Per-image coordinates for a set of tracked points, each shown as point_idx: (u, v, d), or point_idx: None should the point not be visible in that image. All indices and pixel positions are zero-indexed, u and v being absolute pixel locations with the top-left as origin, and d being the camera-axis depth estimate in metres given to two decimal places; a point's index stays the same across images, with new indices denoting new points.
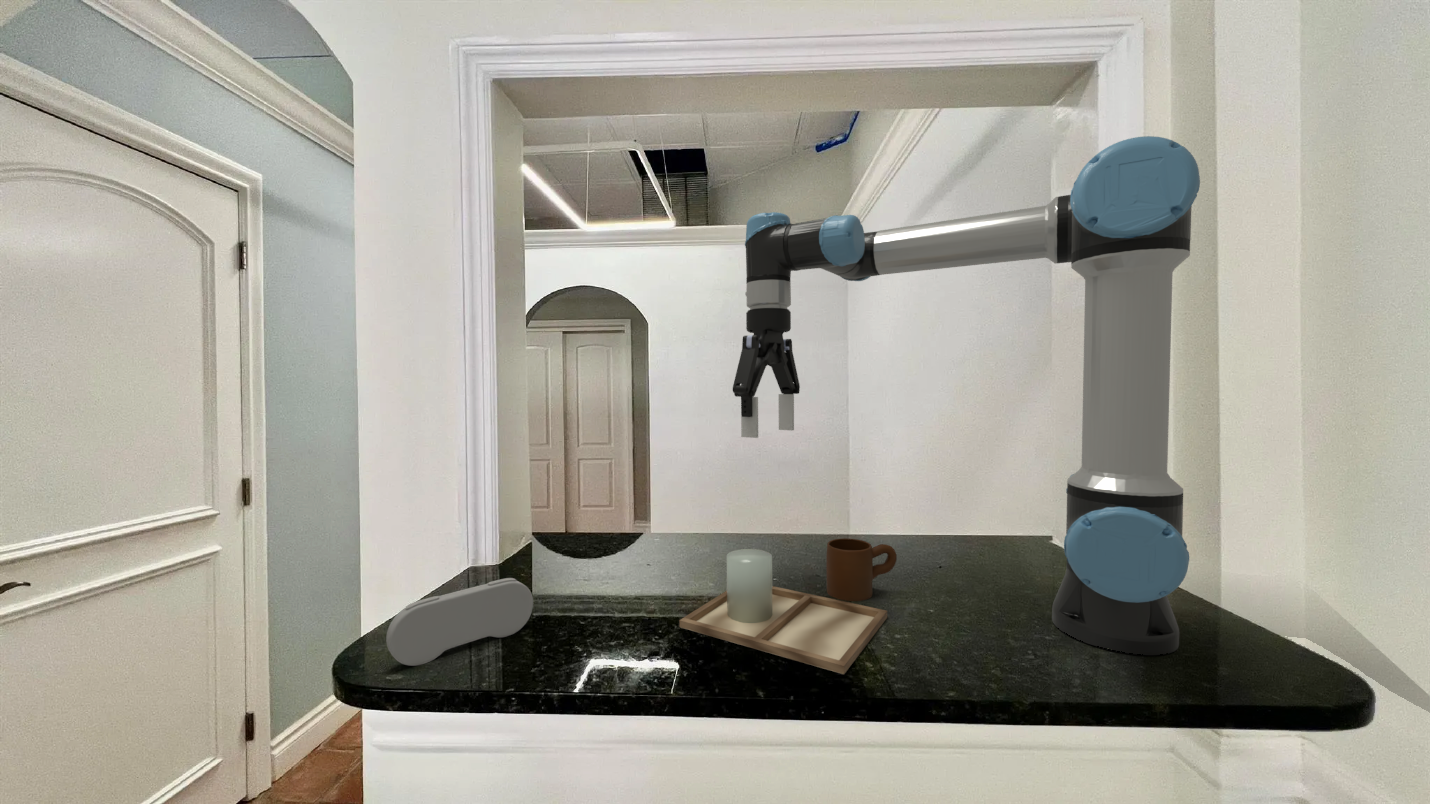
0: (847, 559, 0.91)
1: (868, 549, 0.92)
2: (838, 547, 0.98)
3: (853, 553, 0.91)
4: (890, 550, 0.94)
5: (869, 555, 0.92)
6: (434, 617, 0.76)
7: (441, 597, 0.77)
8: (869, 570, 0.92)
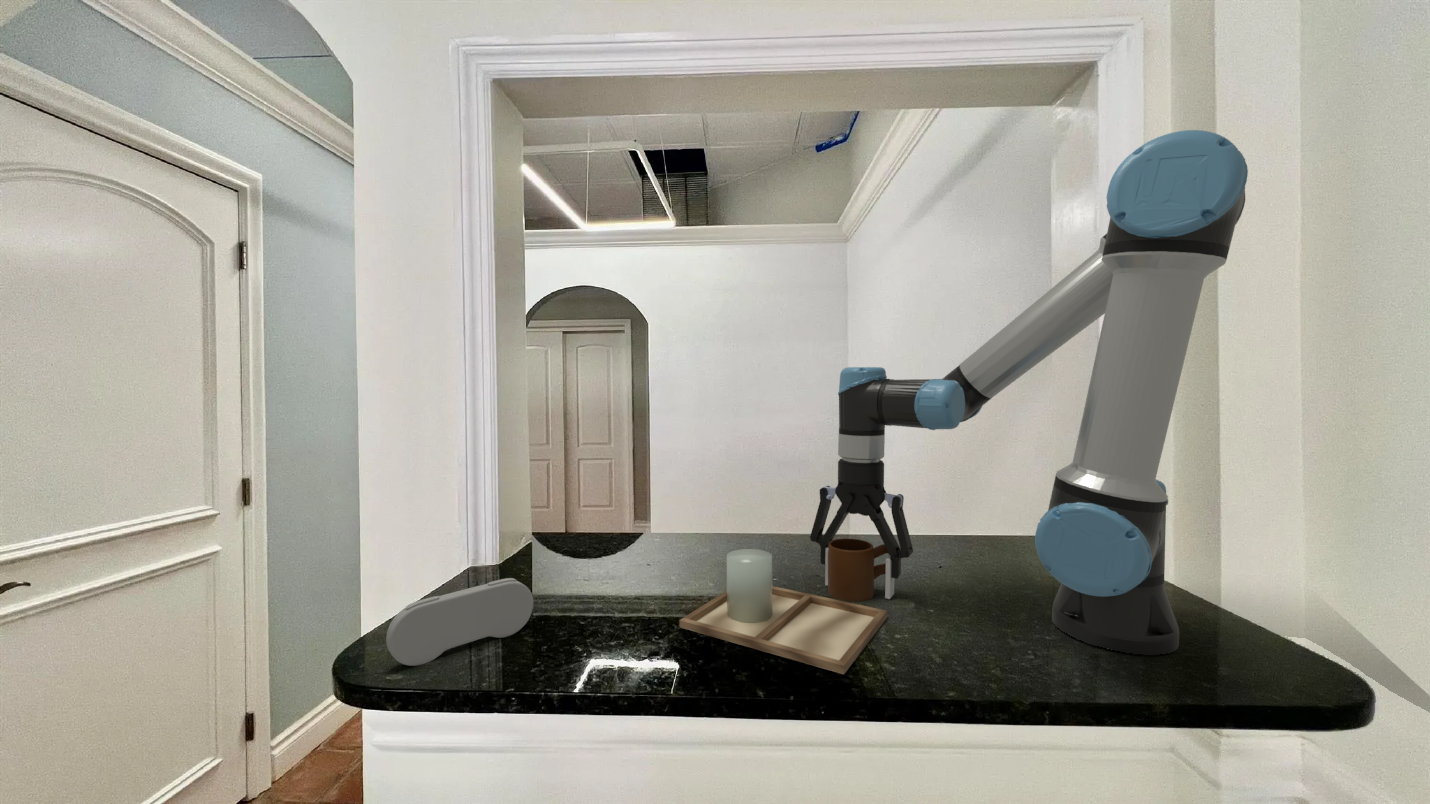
0: (848, 559, 0.91)
1: (869, 549, 0.92)
2: (839, 547, 0.98)
3: (854, 553, 0.91)
4: None
5: (870, 555, 0.92)
6: (434, 617, 0.76)
7: (441, 597, 0.77)
8: (870, 570, 0.92)
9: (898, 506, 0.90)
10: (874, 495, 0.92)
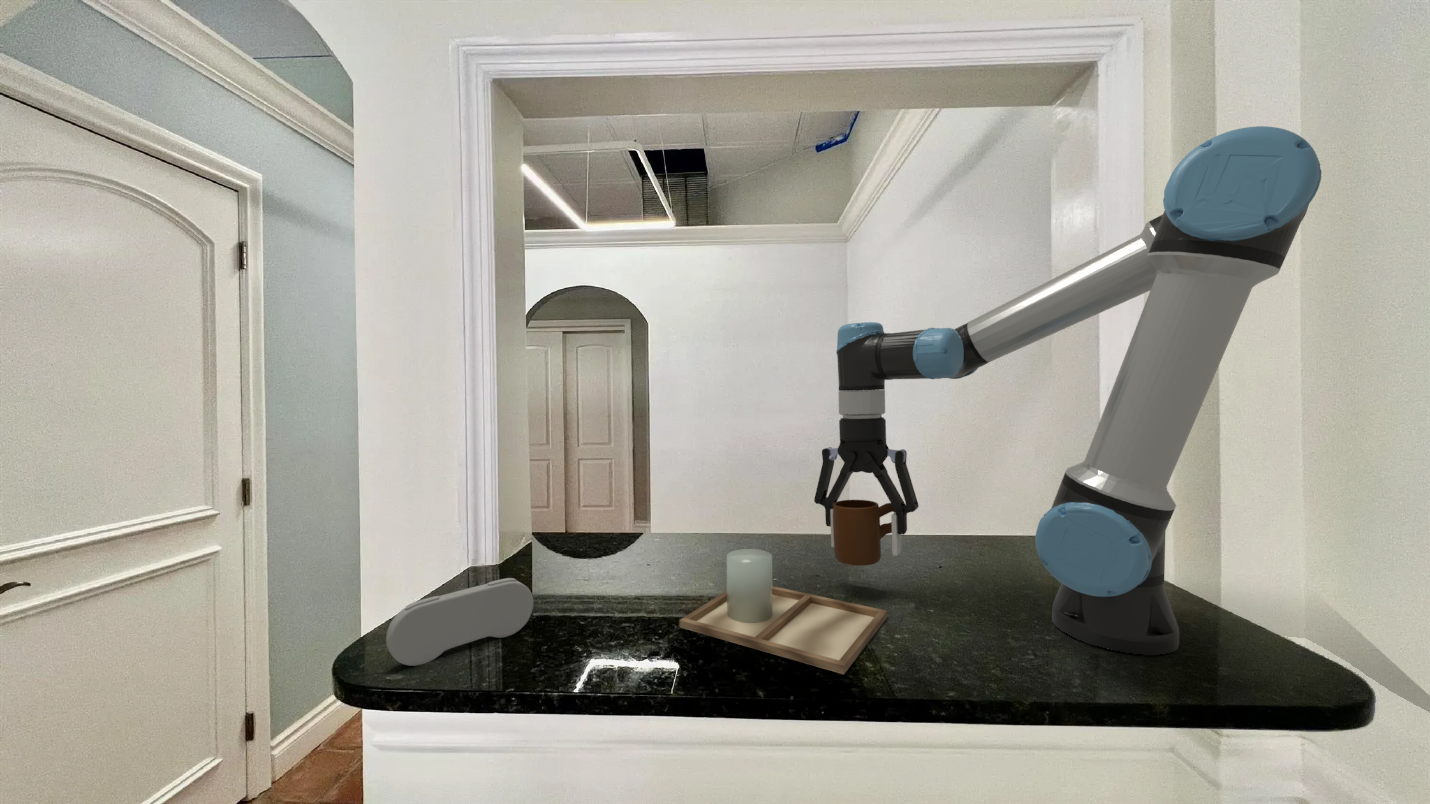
0: (854, 517, 0.90)
1: (875, 506, 0.91)
2: None
3: (860, 510, 0.90)
4: None
5: (876, 512, 0.91)
6: (434, 617, 0.76)
7: (441, 597, 0.77)
8: (877, 528, 0.91)
9: (901, 460, 0.89)
10: (877, 451, 0.91)
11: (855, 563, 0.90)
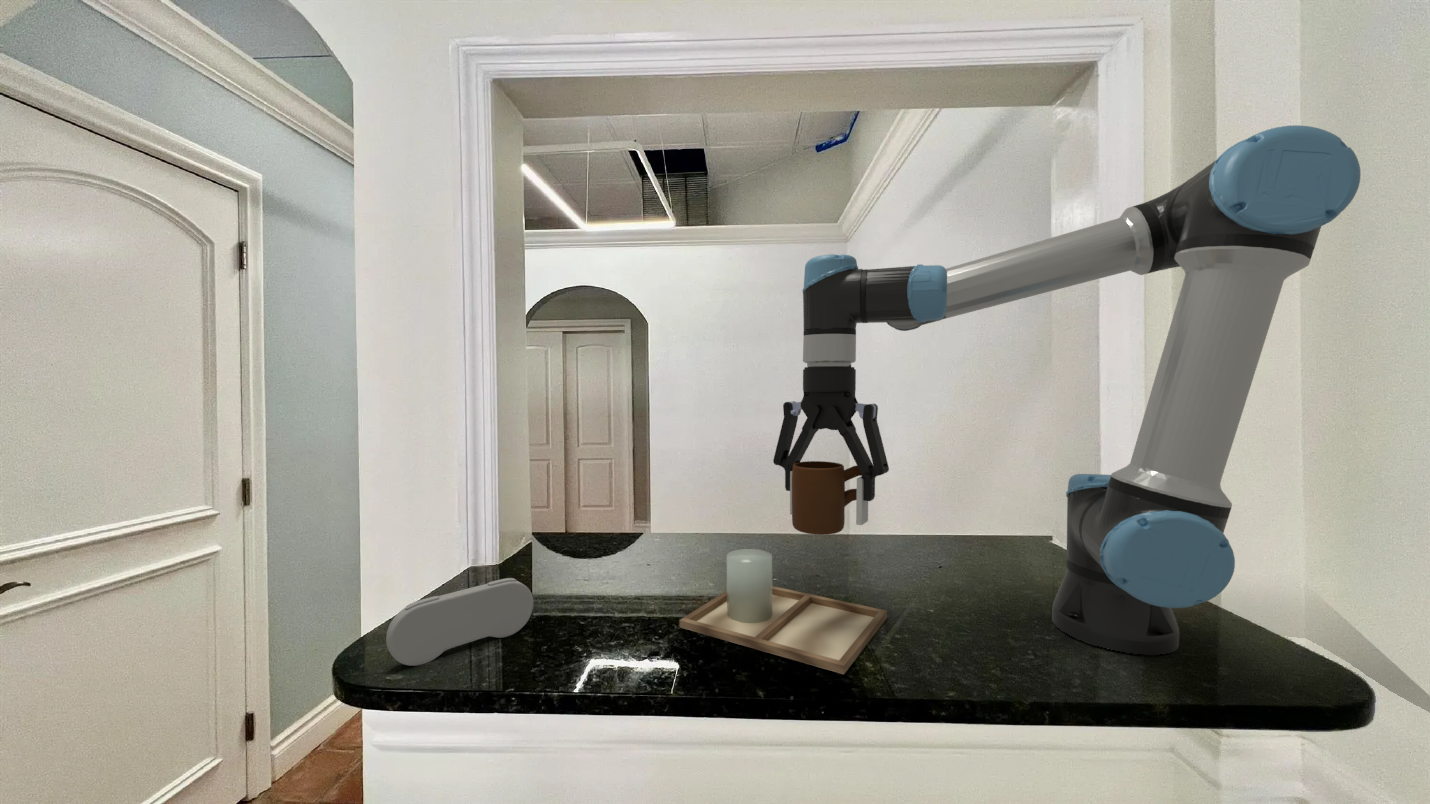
0: (813, 478, 0.78)
1: (838, 468, 0.79)
2: None
3: (820, 471, 0.78)
4: None
5: (840, 475, 0.79)
6: (434, 617, 0.76)
7: (441, 597, 0.77)
8: (840, 492, 0.79)
9: (870, 415, 0.77)
10: (843, 405, 0.79)
11: (813, 531, 0.78)
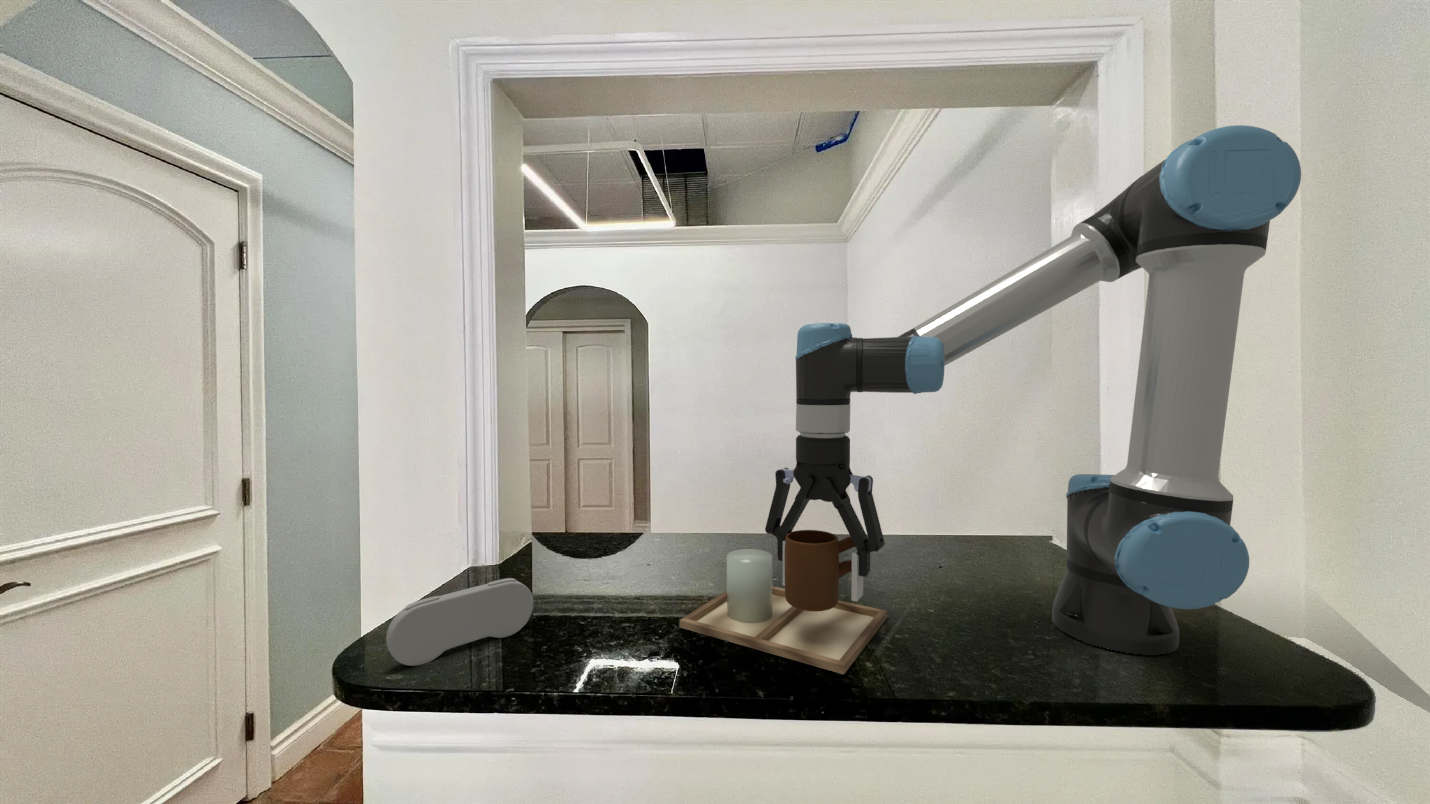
0: (807, 554, 0.76)
1: (833, 542, 0.77)
2: (800, 540, 0.82)
3: (814, 547, 0.75)
4: None
5: (834, 549, 0.77)
6: (434, 617, 0.76)
7: (441, 597, 0.77)
8: (834, 567, 0.77)
9: (866, 489, 0.75)
10: (838, 477, 0.77)
11: (807, 608, 0.76)
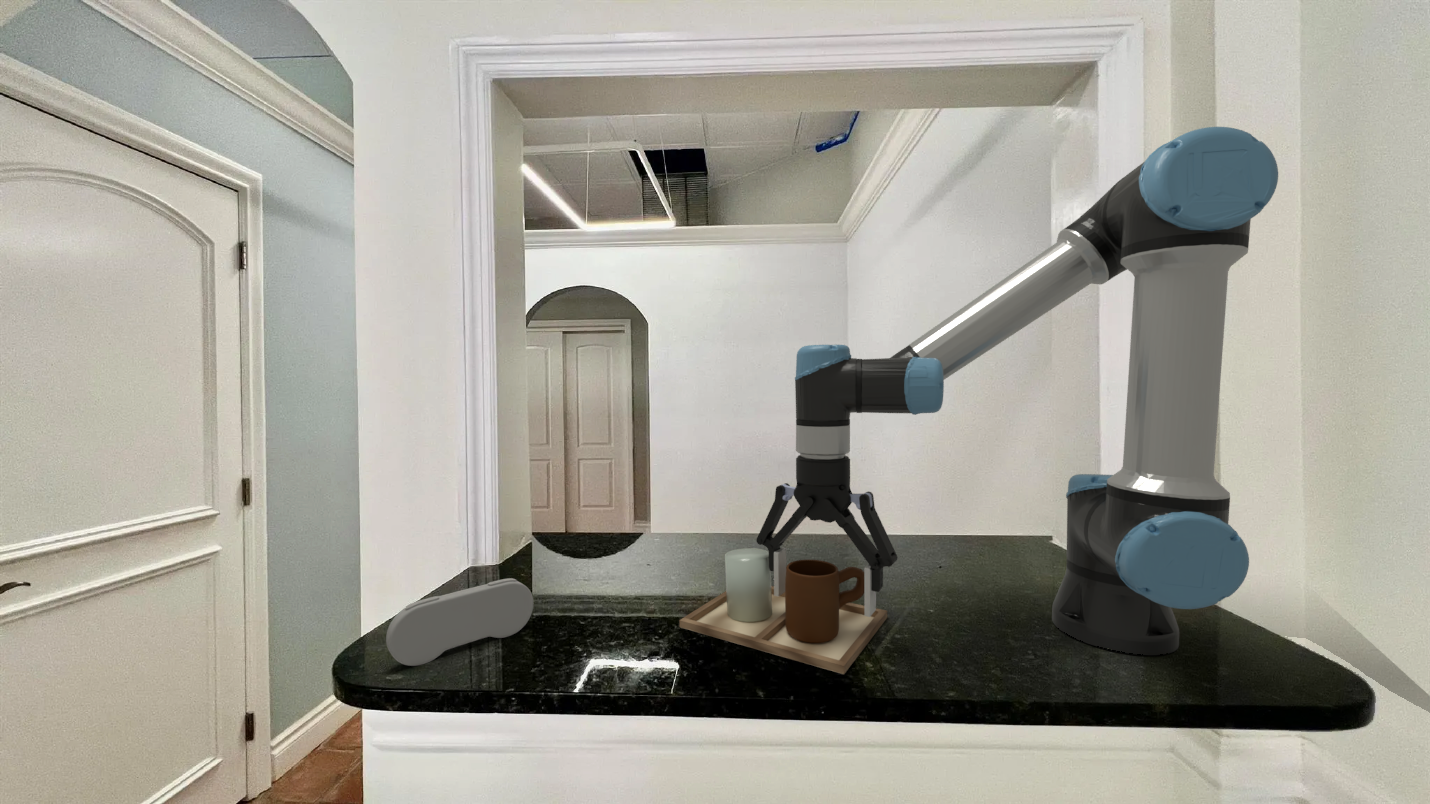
0: (809, 586, 0.76)
1: (834, 574, 0.77)
2: (799, 569, 0.83)
3: (816, 579, 0.76)
4: (860, 574, 0.80)
5: (835, 581, 0.77)
6: (434, 617, 0.76)
7: (441, 597, 0.77)
8: (835, 599, 0.77)
9: (867, 505, 0.75)
10: (838, 498, 0.77)
11: (809, 640, 0.76)
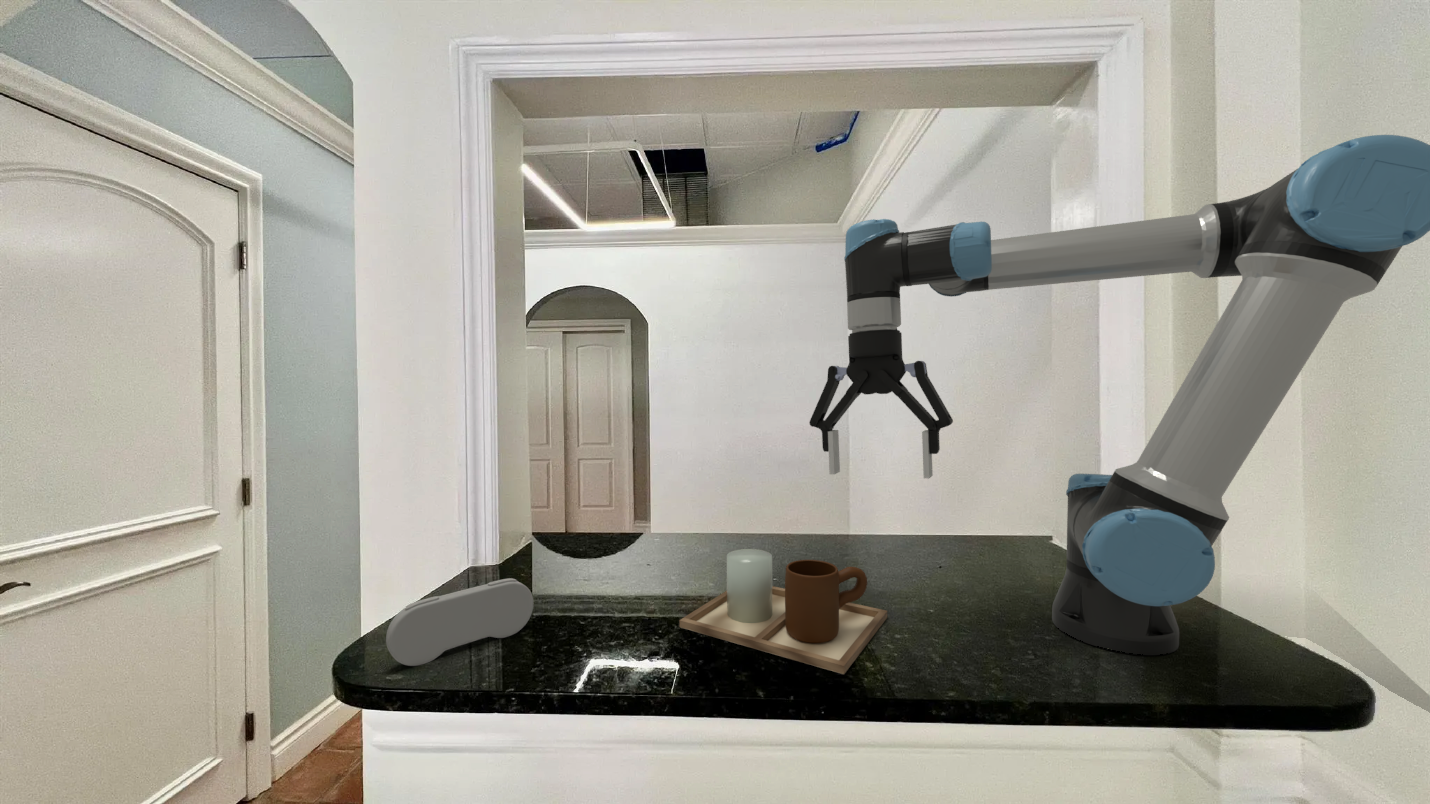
0: (809, 586, 0.76)
1: (834, 574, 0.77)
2: (799, 570, 0.83)
3: (816, 579, 0.76)
4: (860, 574, 0.80)
5: (835, 581, 0.77)
6: (434, 617, 0.75)
7: (440, 597, 0.77)
8: (835, 599, 0.77)
9: (923, 370, 0.78)
10: (892, 368, 0.80)
11: (809, 640, 0.76)
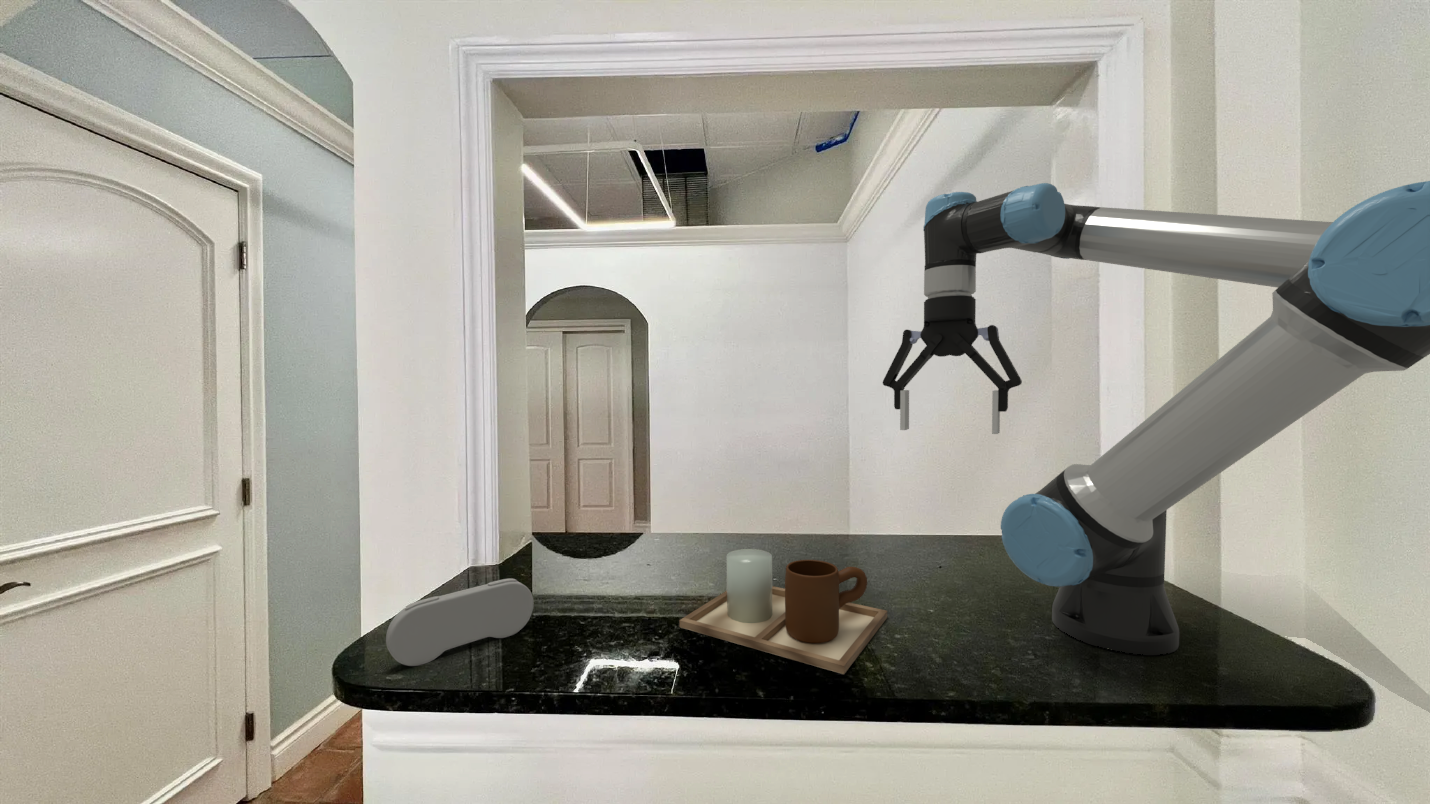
0: (809, 586, 0.76)
1: (834, 574, 0.77)
2: (799, 570, 0.83)
3: (816, 579, 0.76)
4: (860, 574, 0.80)
5: (835, 581, 0.77)
6: (434, 617, 0.75)
7: (440, 597, 0.77)
8: (835, 599, 0.77)
9: (995, 334, 0.84)
10: (966, 332, 0.86)
11: (809, 640, 0.76)
